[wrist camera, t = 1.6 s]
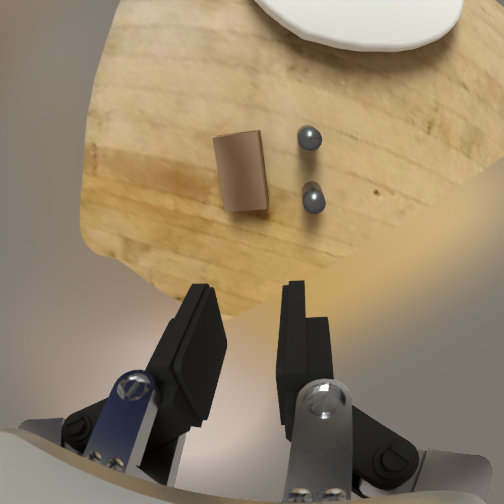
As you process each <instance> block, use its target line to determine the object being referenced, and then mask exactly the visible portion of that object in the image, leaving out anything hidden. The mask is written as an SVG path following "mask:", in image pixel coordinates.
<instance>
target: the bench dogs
mask: <svg viewBox="0 0 504 504" xmlns="http://www.w3.org/2000/svg"><path fill="white" fill-rule="evenodd" d="M297 136H298V140H299V144H300V145H301V147H302V148H304V149H305V150H308V151H313V150H316V149H317V148H319V146H320V145H321V143H322V137H321V134H320V133H319V132H318V131H317V130H316V129H315V128H314V127H312V126H310V125H305V126H302V127H301V128H300V129H299V130H298V134H297ZM302 194H303V203H304V208H305V209H306V211H308V212H309V213H312V214H317V213H320V212H322V211H323V209H324V208H325V204H326V202H325V199H324V196H323V193H322V190H321V187H320V185H319V184H318V183H316V182H313V181H310V182H307V183H306V184H305V185H304V186H303V188H302Z"/></svg>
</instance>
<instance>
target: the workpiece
mask: <svg viewBox="0 0 504 504" xmlns="http://www.w3.org/2000/svg"><path fill="white" fill-rule="evenodd" d="M213 143H214V149H215V156H216V162H217V168H218V174H219V180H220V186H221V192H222V198H223V203H224V209H225V212H237V211H249V210H262V209H267V206H268V202H269V198H268V189H267V181H266V173H265V165H264V156H263V149H262V141H261V133H260V130H257V131H249V132H240V133H233V134H226V135H219V136H217V137H214V138H213Z"/></svg>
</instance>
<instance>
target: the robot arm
mask: <svg viewBox="0 0 504 504" xmlns="http://www.w3.org/2000/svg"><path fill="white" fill-rule="evenodd" d="M226 349H227V339H226V335H225V331H224V327H223V323H222V319H221V315H220V311H219V306H218V302H217V298H216V294H215V290H214V288H213V287H209V285H208V284H192V285H191V287H190V289H189V291H188V293H187V295H186V297H185V299H184V300H183V302H182V304H181V306H180V308H179V311H178V313H177V314H176V316H175V318H173V319H171V320H170V322H169V323H168V326H167V327H166V330H165V331H164V333H163V335H162V337H161V339H160V341H159V343H158V345H157V347H156V349H155V351H154V353H153V355H152V357H151V359H150V361H149V363H148V365H147V367H146V370H145V371H144V370H132V371H129V372H126V373H125V374H123V375H122V376H120V377H119V378H118V379H117V381H116V382H115V384H114V386H113V388H112V390H111V392H110V395H109V397H108V398H106V399H104V400H101V401H99V402H97V403H95V404H93V405H91V406H89V407H86V408H84V409H82V410H80V411H77V412H75V413H73V414H71V415H70V416H68V418H67V419H66V420H65V419H64V418H51V419H31V420H25V421H24V422H23V423H21V425H20V426H19V428H18V429H16V428H0V504H486V503H485V502H486V498H487V494H488V490H489V486H490V481H491V476H492V466H491V464H490V461H489V460H488V459H487V458H485V457H483V456H480V455H471V454H463V453H454V452H448V451H441V450H435V449H429V448H428V449H427V450H420V449H416V447H415V446H414V445H413V444H411V443H410V442H409V441H408V440H406V439H404V438H403V437H401V436H399V435H398V434H396V433H395V432H393V431H391V430H390V429H388V428H387V427H385V426H384V425H382V424H380V423H379V422H377V421H376V420H374V419H372V418H371V417H369V416H368V415H367V414H365V413H364V412H362V411H360V410H359V409H358V408H356V407H355V406H353V405H352V398H351V394H350V392H349V390H348V389H347V387H346V386H344V385H343V384H342V383H340V382H338V381H335V380H334V377H333V365H332V353H331V343H330V333H329V323H328V318H327V317H312V318H306V317H305V285H304V280H303V281H289V285H283V290H282V303H281V315H280V328H279V340H278V350H277V361H276V382H277V391H278V399H279V408H280V418H281V425H285V432H286V438H287V439H288V440H289V441H290V442H291V448H290V455H289V463H288V469H287V475H286V482H285V488H284V494H283V499H282V502H266V501H265V502H264V501H252V500H242V499H233V498H225V497H218V496H212V495H206V494H200V493H195V492H190V491H186V490H181V489H177V488H174V484H175V480H176V475H177V471H178V467H179V463H180V458H181V454H182V450H183V445H184V442H185V437H186V432H188V431H189V430H190V428H191V426H194V427H201V425H202V421H203V420H207V419H208V416H209V413H210V409H211V405H212V401H213V397H214V394H215V390H216V387H217V382H218V379H219V375H220V372H221V368H222V364H223V361H224V356H225V353H226ZM351 491H352V492H354V493H355V494H357V495H358V496H360V497H361V498H363V499H357V500H351Z"/></svg>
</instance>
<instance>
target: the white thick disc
mask: <svg viewBox="0 0 504 504" xmlns="http://www.w3.org/2000/svg"><path fill="white" fill-rule="evenodd" d="M254 1H255V2H256V3H257V4H258V5H259V6H260V7H261V8H262V9H263V10H264V11H265V12H266V13H267V14H268V15H270V16H271V17H272V18H273V19H275V20H276V21H277V22H278V23H279V24H281V25H282V26H283V27H285V28H286V29H288V30H290V31H291V32H293V33H294V34H296V35H297V36H299V37H300V38H302V39H304V40H308V41H312V42H316V43H320V44H324V45H327V46H331V47H334V48H338V49H346V50H353V51H359V52H400V51H406V50H413V49H416V48H418V47H421V46H424V45H426V44H429V43H431V42H434V41H437V40H438V39H440V38H441V37H442V36H444V35H445V34H446V33H448V32H449V31H450V30H451V29H452V27H453V26H454V25H455V23H456V22H457V21H458V19H459V18H460V15H461V11H462V7H463V3H464V0H254Z"/></svg>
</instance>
